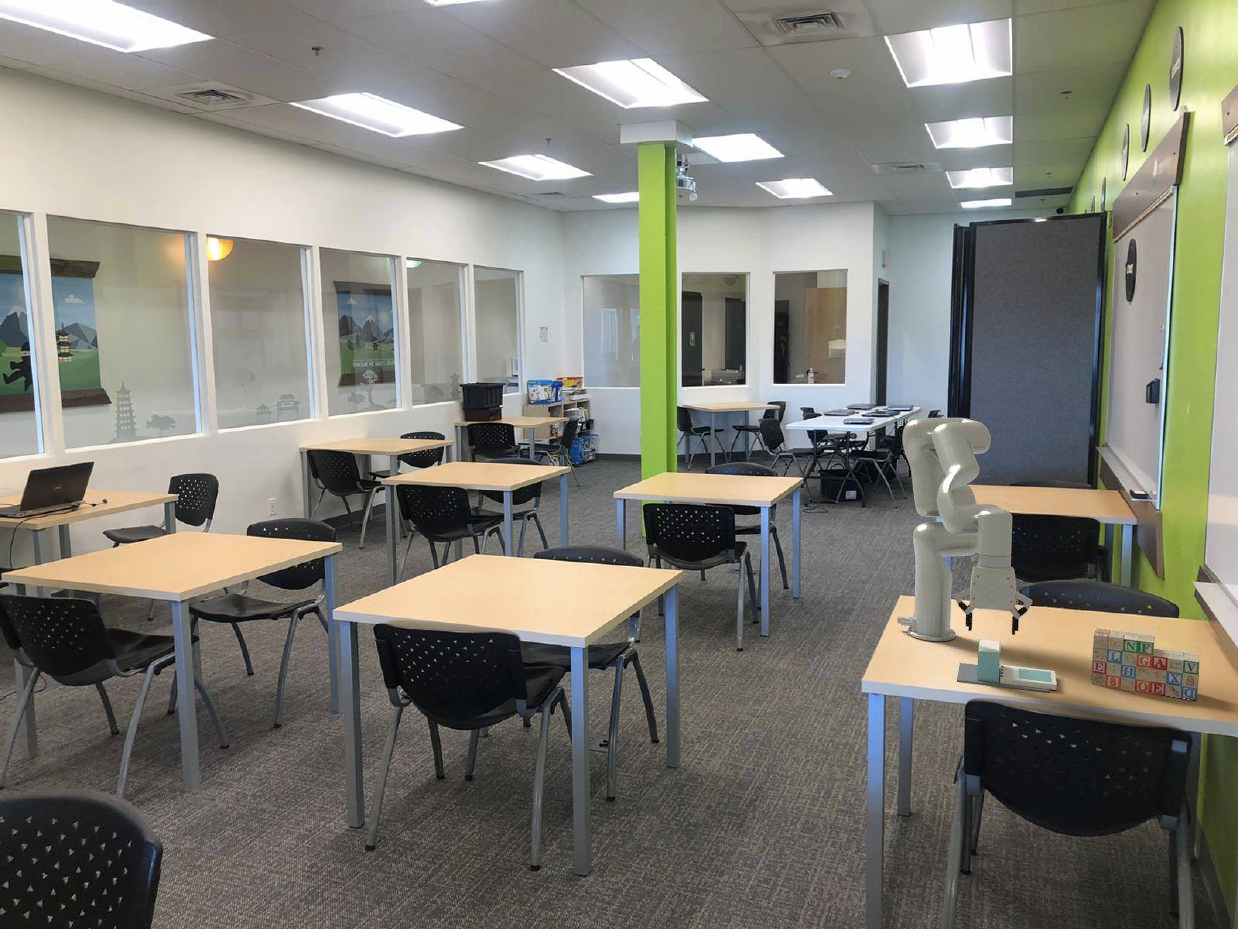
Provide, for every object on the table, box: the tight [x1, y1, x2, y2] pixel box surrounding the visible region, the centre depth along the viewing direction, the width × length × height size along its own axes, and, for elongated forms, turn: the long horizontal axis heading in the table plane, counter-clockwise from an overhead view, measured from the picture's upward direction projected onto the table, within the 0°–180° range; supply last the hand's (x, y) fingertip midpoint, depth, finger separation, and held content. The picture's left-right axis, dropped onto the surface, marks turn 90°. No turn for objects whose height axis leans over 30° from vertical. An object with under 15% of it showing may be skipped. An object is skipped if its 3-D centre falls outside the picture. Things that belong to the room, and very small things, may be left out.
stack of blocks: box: [1091, 628, 1200, 702], centre depth 215 cm, size 21×6×12 cm, turn 57°
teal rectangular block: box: [977, 638, 1002, 682], centre depth 224 cm, size 5×10×7 cm, turn 157°
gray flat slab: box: [956, 662, 1057, 694], centre depth 223 cm, size 22×13×2 cm, turn 67°
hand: (991, 631), depth 222 cm, fingers open, 9 cm apart
